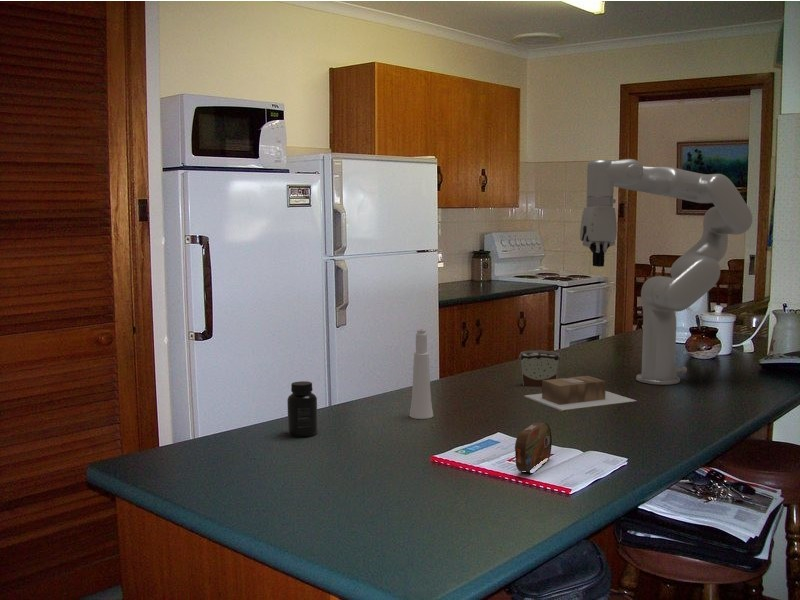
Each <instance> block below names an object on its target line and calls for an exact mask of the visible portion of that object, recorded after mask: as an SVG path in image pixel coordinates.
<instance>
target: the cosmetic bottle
mask: <svg viewBox="0 0 800 600" xmlns="http://www.w3.org/2000/svg"><path fill="white" fill-rule="evenodd" d="M426 331H427V329H424V328H419V329H416V333H415V352H414V353H413V367H412V370H413V372H412V392H411V404H410V411H409V414H408V415H409V417H410V418H411V419H414V420H415V419H416V420H428V419H431V418H433V417H434V412H433V404H432V394H431V378H430V377H431V376H430V371H431V370H430V358H429V357H430V356H429V355H430V354H429V352H428V339H427V338H428V334H427V333H426Z"/></svg>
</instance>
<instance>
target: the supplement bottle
mask: <svg viewBox="0 0 800 600" xmlns="http://www.w3.org/2000/svg"><path fill="white" fill-rule="evenodd" d="M290 387H291V389H290V391H291V394H290V395H289V396H288V397H287V401H286V402H287V428H288V429H287V431H288V435H289V436H291V437H295V438H296V437H297V438H306V437H307V438H308V437H312V436H315V435H316V434H317V433H318V425H319V424H318V423H319V422H318V399H317V396H316V395H315V394H314V392H313V391H314V390H313V382H312V381H307V380H303V381H295V382H292V383H291V386H290Z"/></svg>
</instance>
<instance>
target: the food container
mask: <svg viewBox="0 0 800 600" xmlns="http://www.w3.org/2000/svg"><path fill="white" fill-rule="evenodd" d="M560 354H561V353H559V352H555V351H551V350H525V351H522V352H520V354H519V356H518V361H520V368H521V377H522V379H521V380H522V386H523V387H542V380H551V379H558V371H559V363H560V362H562V357H561V355H560Z"/></svg>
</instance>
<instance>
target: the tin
mask: <svg viewBox="0 0 800 600" xmlns="http://www.w3.org/2000/svg"><path fill="white" fill-rule="evenodd" d="M552 440H553V436H552V431H551V428H550V425H549V424H548V423H547V422H533V423H532V424H530V425H528V426H527V427H526V428H524V429H523V430H521V431H520V432H519V433H518V435H517V436H516V440H515V443H514V451H515V454H514V455H515V466H516V469H517V470H518V472H520V471H526V472H530V470H531V469H532V468H533V467H534V466H536V465H537V464H539V463H540V462H541V461H543V460H544V459H545V458H549V459H550V457H551V453H552V448H553V447H552V442H553V441H552Z"/></svg>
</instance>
